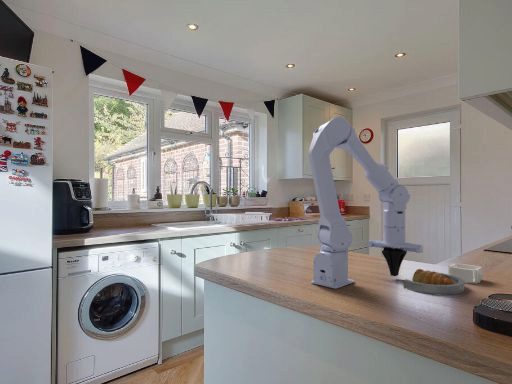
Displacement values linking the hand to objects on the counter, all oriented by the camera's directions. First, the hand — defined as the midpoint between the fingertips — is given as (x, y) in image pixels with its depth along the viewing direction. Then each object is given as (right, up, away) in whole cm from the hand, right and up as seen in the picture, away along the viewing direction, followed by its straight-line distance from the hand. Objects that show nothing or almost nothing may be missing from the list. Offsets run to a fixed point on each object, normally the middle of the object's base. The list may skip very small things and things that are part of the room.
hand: (394, 275), depth 91 cm
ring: (+8, -1, -8) cm, 11 cm away
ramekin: (+19, -1, -1) cm, 19 cm away
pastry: (+7, -2, -6) cm, 9 cm away
